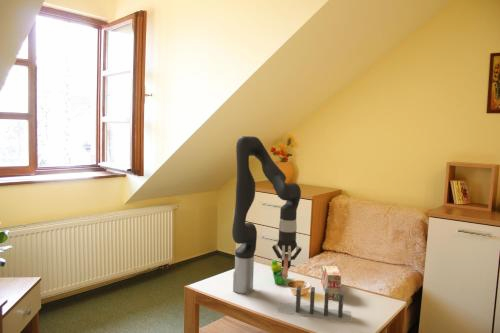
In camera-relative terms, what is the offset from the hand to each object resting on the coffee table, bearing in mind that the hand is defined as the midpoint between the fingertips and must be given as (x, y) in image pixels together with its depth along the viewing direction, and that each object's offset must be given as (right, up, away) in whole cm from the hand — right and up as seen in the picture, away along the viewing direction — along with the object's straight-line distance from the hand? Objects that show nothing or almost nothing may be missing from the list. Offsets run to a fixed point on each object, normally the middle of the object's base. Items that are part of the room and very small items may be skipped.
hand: (286, 268), depth 171 cm
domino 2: (+5, -18, 0) cm, 19 cm away
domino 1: (-1, -3, -4) cm, 5 cm away
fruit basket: (-1, -16, +34) cm, 38 cm away
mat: (+12, -19, -1) cm, 23 cm away
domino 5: (+23, -19, -4) cm, 30 cm away
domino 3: (+11, -19, -1) cm, 22 cm away
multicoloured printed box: (+24, -18, +23) cm, 38 cm away
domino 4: (+17, -19, -2) cm, 26 cm away
